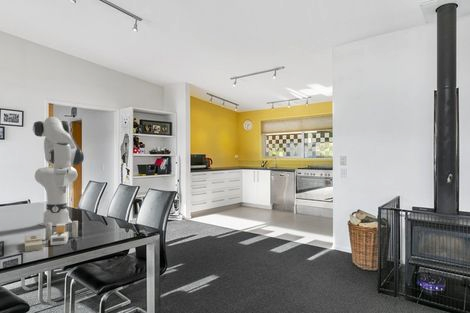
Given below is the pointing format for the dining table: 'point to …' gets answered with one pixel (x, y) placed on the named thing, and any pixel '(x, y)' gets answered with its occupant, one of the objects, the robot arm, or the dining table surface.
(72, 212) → the dining table surface
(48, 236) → the post
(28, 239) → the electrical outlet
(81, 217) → the dining table surface
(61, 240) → the breaker block
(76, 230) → the post
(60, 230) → the breaker toggle
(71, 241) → the dining table surface
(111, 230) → the dining table surface
